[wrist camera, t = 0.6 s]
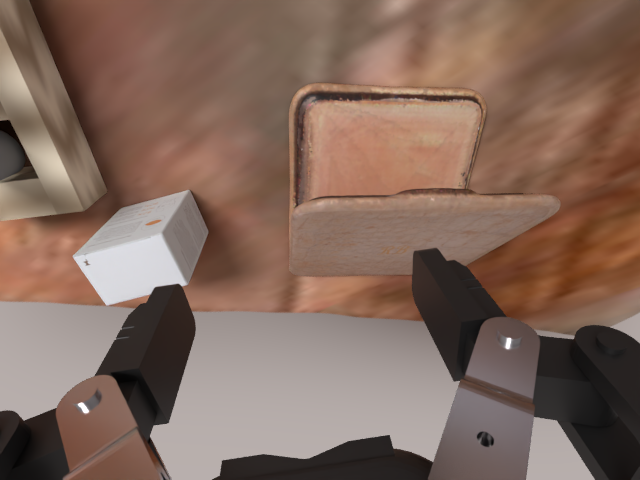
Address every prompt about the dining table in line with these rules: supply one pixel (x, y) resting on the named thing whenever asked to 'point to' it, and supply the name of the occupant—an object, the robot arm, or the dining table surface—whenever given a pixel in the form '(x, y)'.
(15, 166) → the plug
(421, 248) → the case
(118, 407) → the robot arm
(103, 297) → the small box
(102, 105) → the dining table surface
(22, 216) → the socket block
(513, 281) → the dining table surface
